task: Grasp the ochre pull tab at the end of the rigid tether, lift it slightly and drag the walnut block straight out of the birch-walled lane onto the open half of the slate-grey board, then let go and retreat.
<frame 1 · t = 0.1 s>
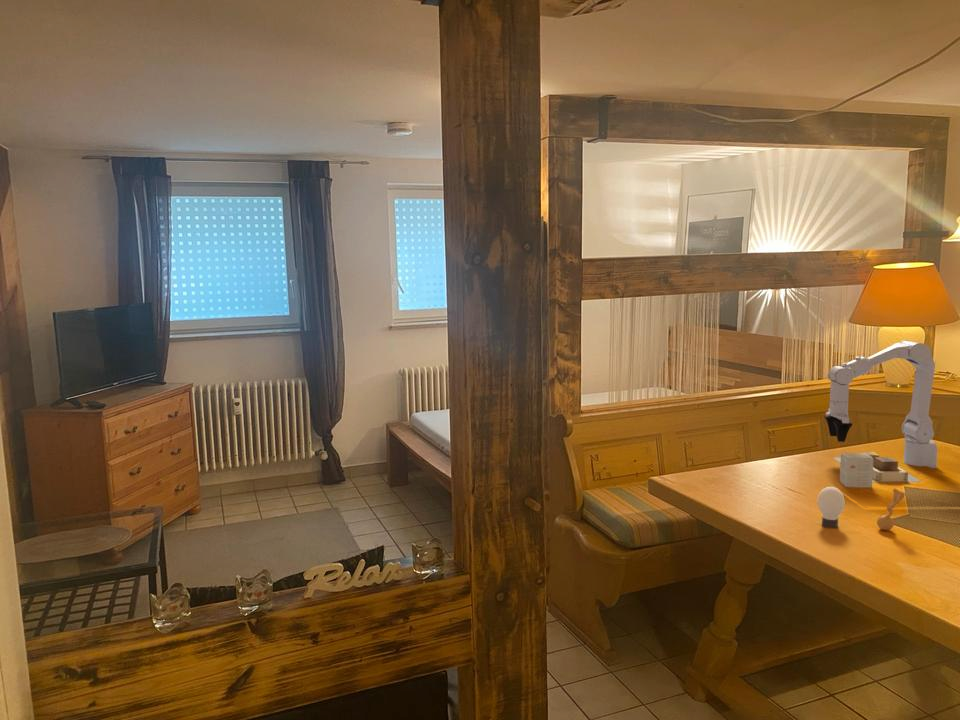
hand: (837, 438, 248), 10 cm above the table, fingers open, 7 cm apart
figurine: (889, 531, 191), on the table
walnut block with tether: (885, 476, 234), point 1 cm above the table, touching shelf board with lane
light bulb: (829, 525, 196), on the table
small box: (855, 487, 227), on the table
shelf board with lane: (874, 471, 243), on the table
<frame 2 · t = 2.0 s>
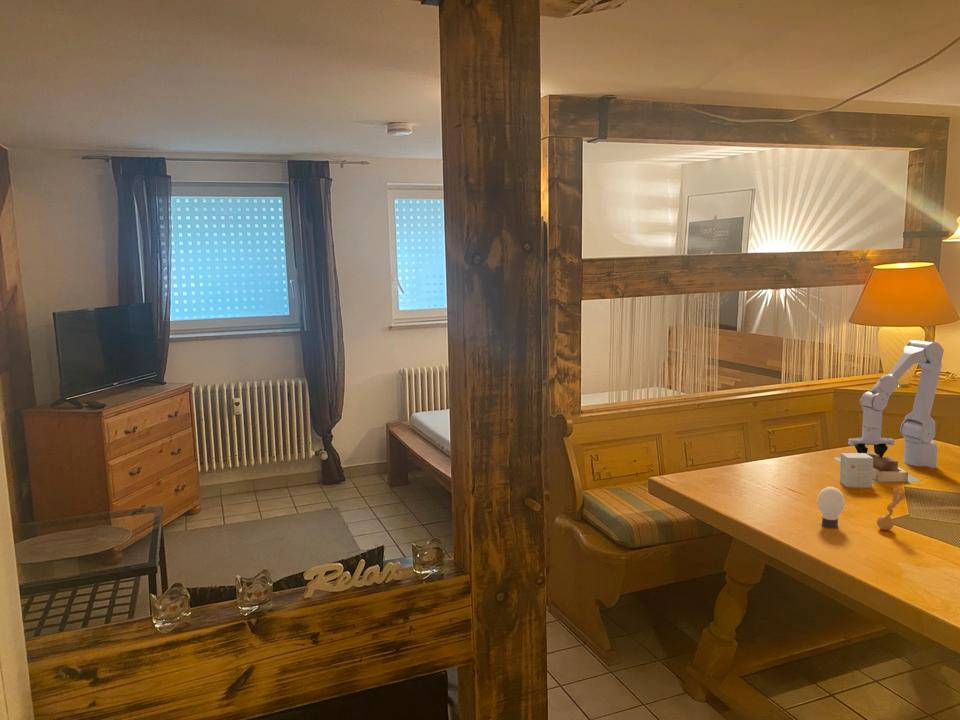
hand: (869, 465, 244), 2 cm above the table, fingers closed on walnut block with tether, 4 cm apart
walnut block with tether: (885, 476, 234), point 1 cm above the table, touching gripper, shelf board with lane
everything else where it was.
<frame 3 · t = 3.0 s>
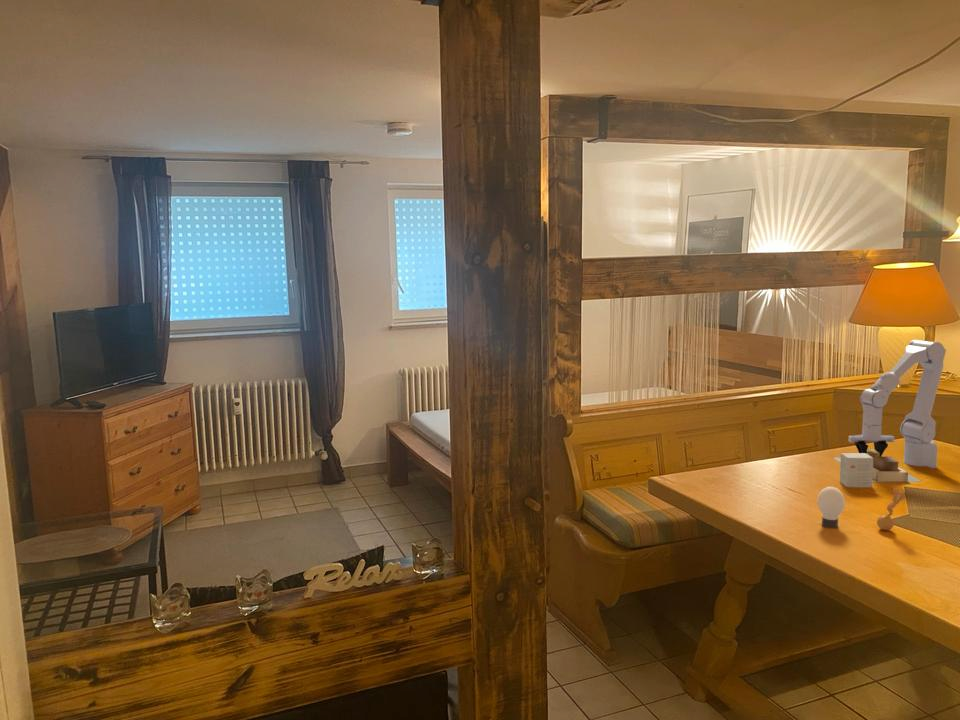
hand: (869, 462, 244), 3 cm above the table, fingers closed on walnut block with tether, 4 cm apart
walnut block with tether: (885, 476, 234), point 1 cm above the table, touching gripper, shelf board with lane
everything else where it was.
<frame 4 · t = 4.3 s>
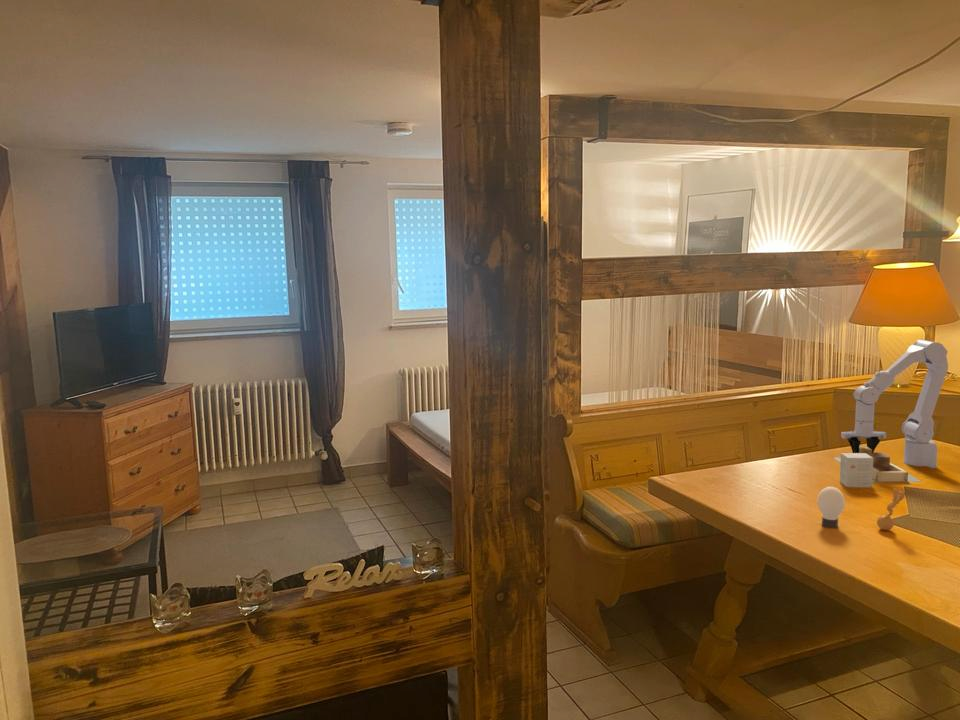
hand: (862, 457, 249), 3 cm above the table, fingers closed on walnut block with tether, 4 cm apart
walnut block with tether: (877, 471, 239), point 1 cm above the table, touching gripper, shelf board with lane
everything else where it was.
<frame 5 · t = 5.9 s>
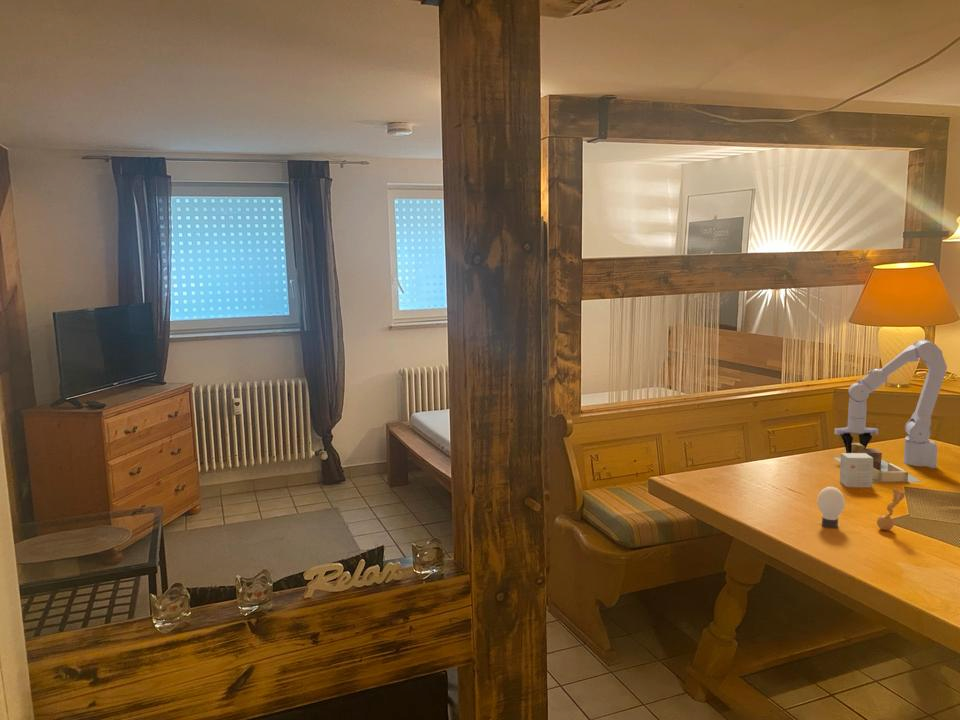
hand: (855, 453, 255), 3 cm above the table, fingers closed on walnut block with tether, 4 cm apart
walnut block with tether: (869, 467, 244), point 1 cm above the table, touching gripper, shelf board with lane
everything else where it was.
when the fingers open (3 cm above the table, at t = 6.8 s): walnut block with tether stays where it is, resting on shelf board with lane.
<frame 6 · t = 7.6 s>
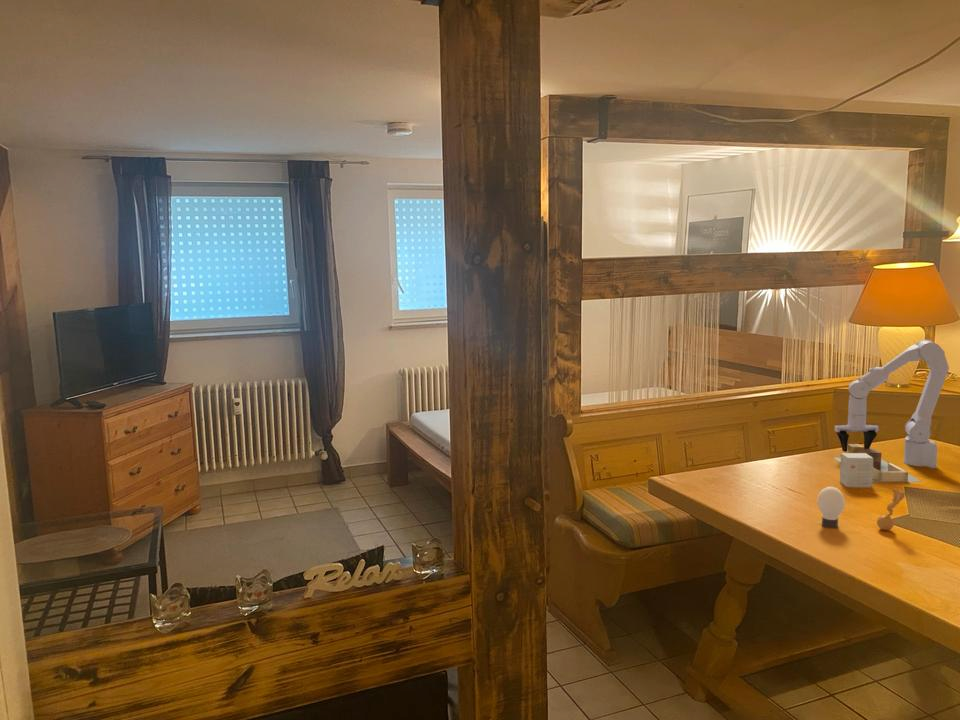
hand: (855, 451, 254), 4 cm above the table, fingers open, 7 cm apart
walnut block with tether: (869, 467, 244), point 1 cm above the table, touching shelf board with lane
everything else where it was.
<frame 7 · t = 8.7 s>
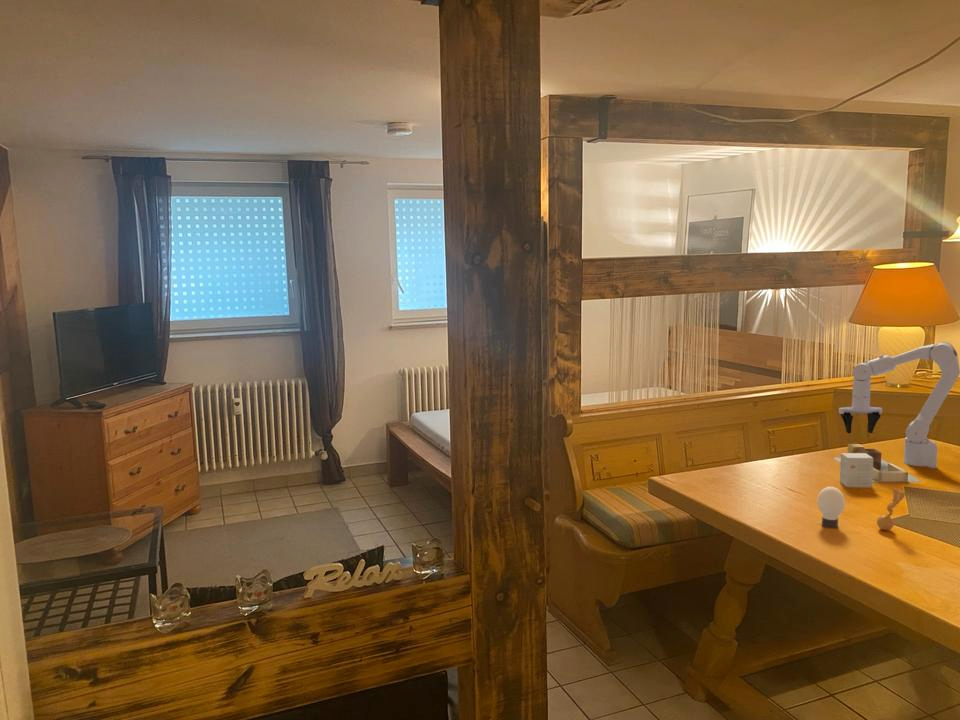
hand: (859, 432, 257), 9 cm above the table, fingers open, 7 cm apart
nothing on the table moved.
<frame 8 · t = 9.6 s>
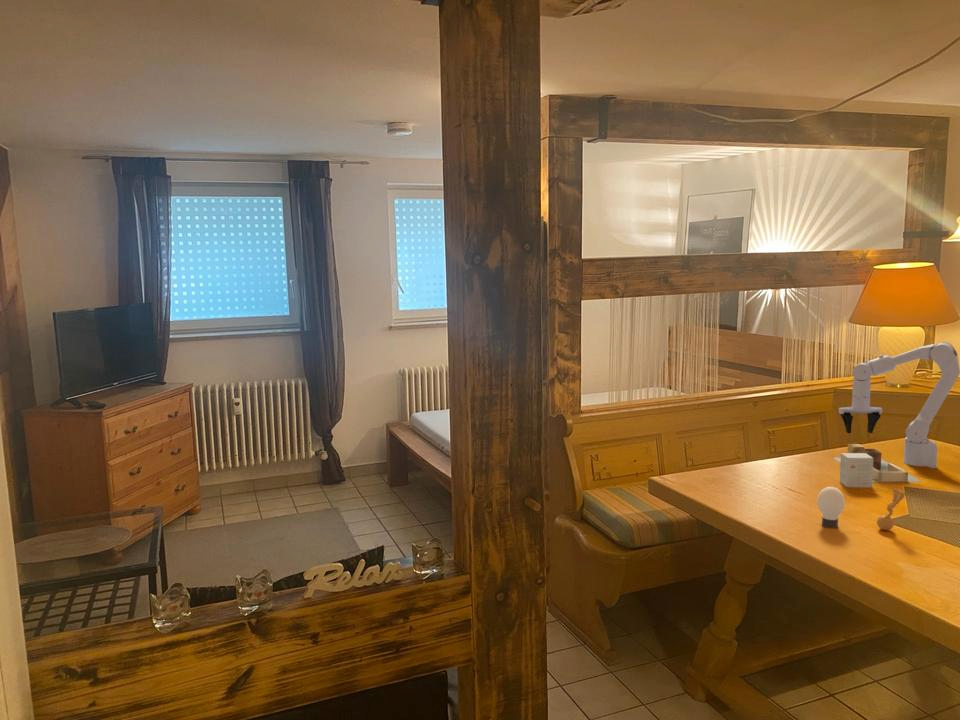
hand: (859, 432, 257), 9 cm above the table, fingers open, 7 cm apart
nothing on the table moved.
at the end: walnut block with tether inside the target area (0.7 cm from its centre), point 0.8 cm above the table; walnut block with tether moved 10.6 cm from its start; the gripper is holding nothing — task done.
